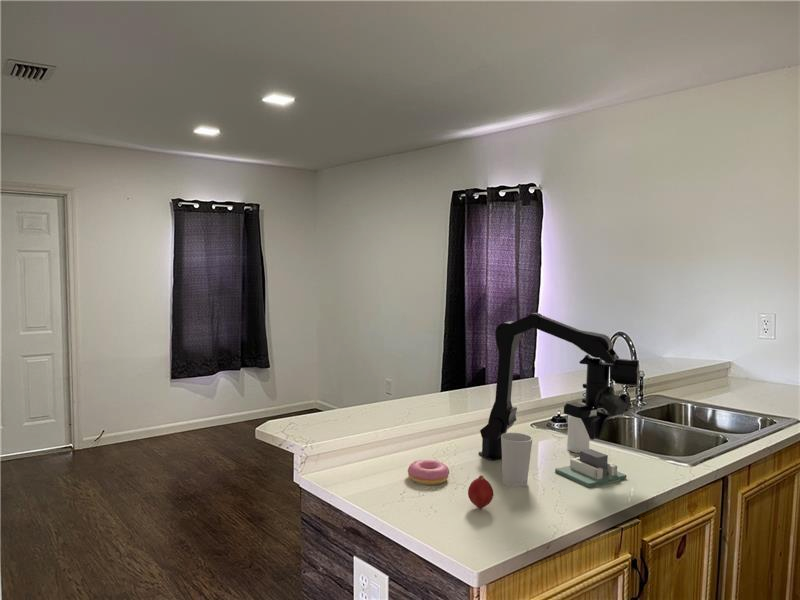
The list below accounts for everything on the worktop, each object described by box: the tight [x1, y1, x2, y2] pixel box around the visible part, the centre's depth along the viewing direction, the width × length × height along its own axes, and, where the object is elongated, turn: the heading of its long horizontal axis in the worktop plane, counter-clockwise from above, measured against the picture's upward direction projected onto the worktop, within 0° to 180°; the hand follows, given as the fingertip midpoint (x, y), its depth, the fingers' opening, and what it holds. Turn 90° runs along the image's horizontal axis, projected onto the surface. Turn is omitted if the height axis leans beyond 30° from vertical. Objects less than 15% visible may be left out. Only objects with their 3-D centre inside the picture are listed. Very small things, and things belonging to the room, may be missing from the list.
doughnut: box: [407, 459, 450, 486], centre depth 155 cm, size 11×11×4 cm
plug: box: [579, 448, 609, 477], centre depth 160 cm, size 4×7×5 cm, turn 30°
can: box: [566, 415, 591, 454], centre depth 181 cm, size 6×6×12 cm
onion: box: [467, 474, 494, 510], centre depth 136 cm, size 6×6×8 cm
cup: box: [501, 432, 533, 488], centre depth 153 cm, size 8×8×12 cm
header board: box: [554, 456, 627, 488], centre depth 160 cm, size 14×12×4 cm
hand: (594, 438), depth 160 cm, fingers closed
